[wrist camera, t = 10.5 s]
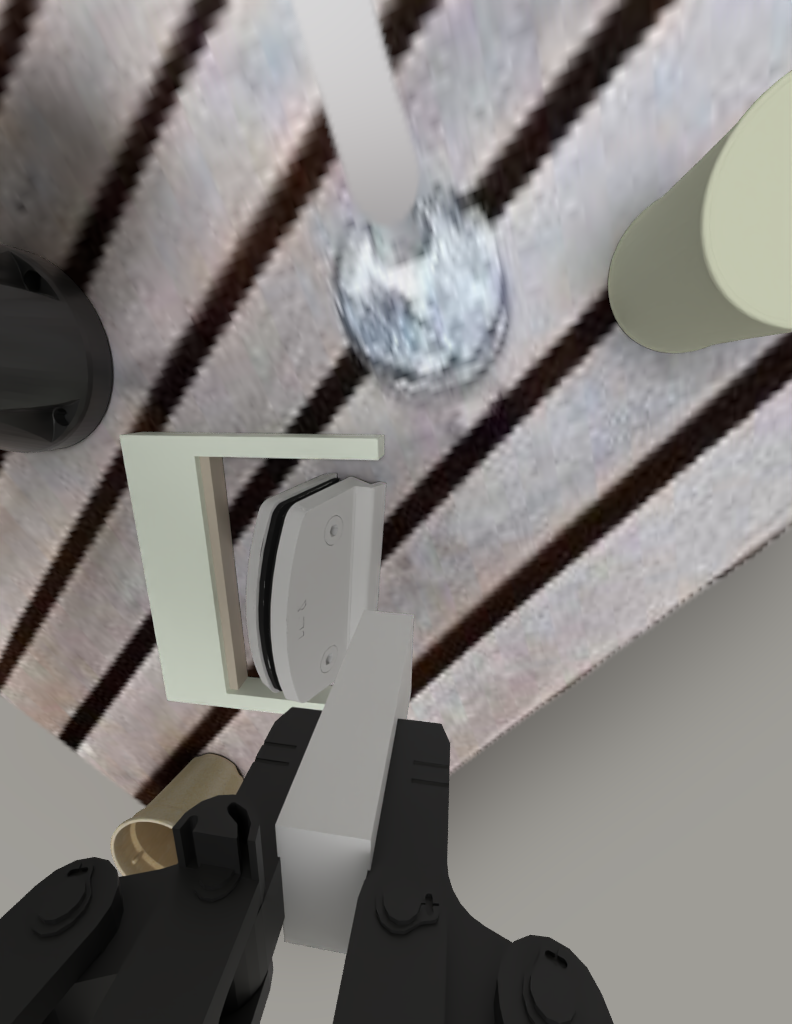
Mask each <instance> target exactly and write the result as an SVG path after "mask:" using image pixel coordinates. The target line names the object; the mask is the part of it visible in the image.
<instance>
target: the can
mask: <svg viewBox="0 0 792 1024" xmlns="http://www.w3.org/2000/svg"><path fill="white" fill-rule="evenodd" d="M608 295H609V301H610V306H611V309H612V312H613V314H614V317H615V319H616V320H617V322H618V324H619V325H620V327H621V328H622V329H623V331H624V332H625V333H626V334H627V335H628V336H629V337H630V338H631V339H633V340H634V341H635V342H637V343H638V344H640V345H642V346H644V347H646V348H649V349H651V350H655V351H659V352H665V353H685V352H692V351H696V350H700V349H703V348H706V347H708V346H711V345H715V344H721V343H727V342H732V341H738V340H744V339H750V338H756V337H762V336H769V335H775V334H782V333H788V332H792V70H791V71H790V72H789V73H787V74H786V75H785V76H783V77H782V78H780V79H779V80H778V81H777V82H776V83H775V84H773V85H772V86H771V87H770V88H769V89H768V90H767V91H766V92H764V93H763V94H762V95H761V96H760V97H759V98H758V99H757V100H756V101H755V102H754V103H753V105H752V106H751V107H750V108H749V109H748V110H747V111H746V113H745V114H744V115H743V116H742V118H741V119H740V120H739V121H738V123H737V124H736V125H735V126H734V127H733V128H732V129H731V130H730V131H729V132H728V133H727V134H726V135H725V136H724V137H723V138H722V139H721V140H720V141H719V142H718V143H717V144H716V145H715V146H714V147H713V148H712V149H711V150H710V151H709V152H708V153H707V154H706V155H705V156H704V157H703V158H702V159H701V160H700V161H699V162H698V163H697V164H696V165H695V166H694V167H693V168H692V169H690V170H689V171H688V172H687V173H686V174H685V175H684V176H683V177H682V178H681V179H680V180H679V181H678V182H677V183H676V184H675V185H674V186H673V187H672V188H671V189H670V190H669V191H668V192H667V193H666V194H665V195H664V196H663V197H661V198H660V199H658V200H657V201H655V202H654V203H652V204H651V205H650V206H648V207H647V208H646V209H645V210H644V211H643V212H642V213H641V214H640V215H639V216H638V217H637V218H636V219H635V220H634V221H633V222H632V224H631V225H630V226H629V228H628V229H627V230H626V232H625V233H624V235H623V236H622V238H621V240H620V242H619V244H618V246H617V248H616V250H615V253H614V256H613V258H612V262H611V266H610V270H609V277H608Z"/></svg>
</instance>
